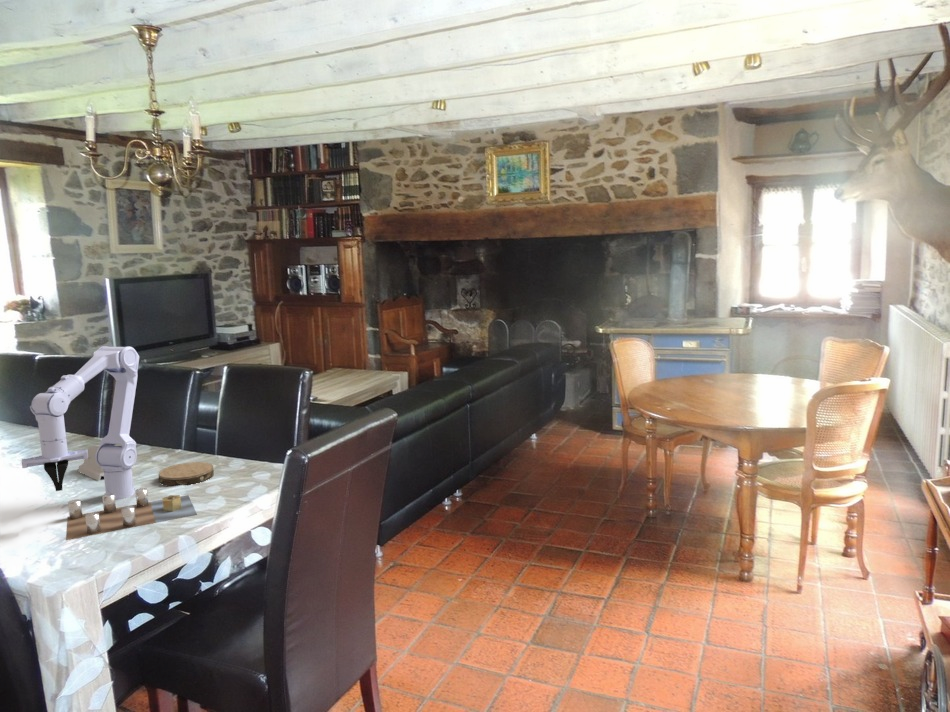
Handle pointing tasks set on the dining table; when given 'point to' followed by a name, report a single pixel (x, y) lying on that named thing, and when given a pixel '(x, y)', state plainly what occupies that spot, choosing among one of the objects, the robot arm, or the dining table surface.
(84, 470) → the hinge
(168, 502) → the brass nut
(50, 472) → the robot arm
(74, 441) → the dining table surface
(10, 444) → the dining table surface
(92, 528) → the steel spacers
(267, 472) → the dining table surface
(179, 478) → the brown flat round disc
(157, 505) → the spacer board
